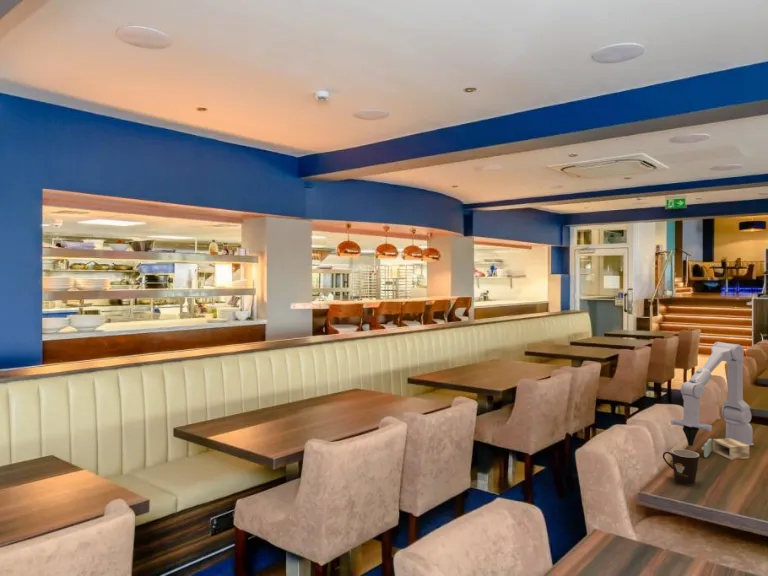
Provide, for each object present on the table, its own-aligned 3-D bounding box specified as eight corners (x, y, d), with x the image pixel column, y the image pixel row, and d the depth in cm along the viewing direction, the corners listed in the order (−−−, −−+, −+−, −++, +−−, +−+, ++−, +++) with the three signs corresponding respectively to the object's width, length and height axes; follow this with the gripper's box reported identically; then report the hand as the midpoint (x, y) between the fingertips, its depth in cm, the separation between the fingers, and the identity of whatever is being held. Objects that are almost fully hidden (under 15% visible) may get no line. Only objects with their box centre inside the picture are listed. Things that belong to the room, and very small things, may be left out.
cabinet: (729, 450, 235) (729, 438, 235) (749, 458, 226) (749, 445, 225) (712, 451, 234) (712, 439, 234) (731, 459, 224) (731, 447, 224)
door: (712, 450, 234) (712, 438, 234) (706, 457, 226) (707, 444, 226) (706, 449, 235) (707, 437, 235) (701, 456, 227) (701, 443, 227)
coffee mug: (704, 485, 199) (705, 456, 199) (681, 486, 198) (682, 458, 197) (681, 472, 211) (682, 445, 210) (660, 474, 209) (660, 447, 209)
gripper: (669, 410, 233) (668, 443, 234) (709, 417, 224) (708, 451, 225) (673, 407, 239) (672, 439, 240) (713, 413, 230) (712, 446, 230)
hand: (690, 445), depth 233 cm, fingers closed
